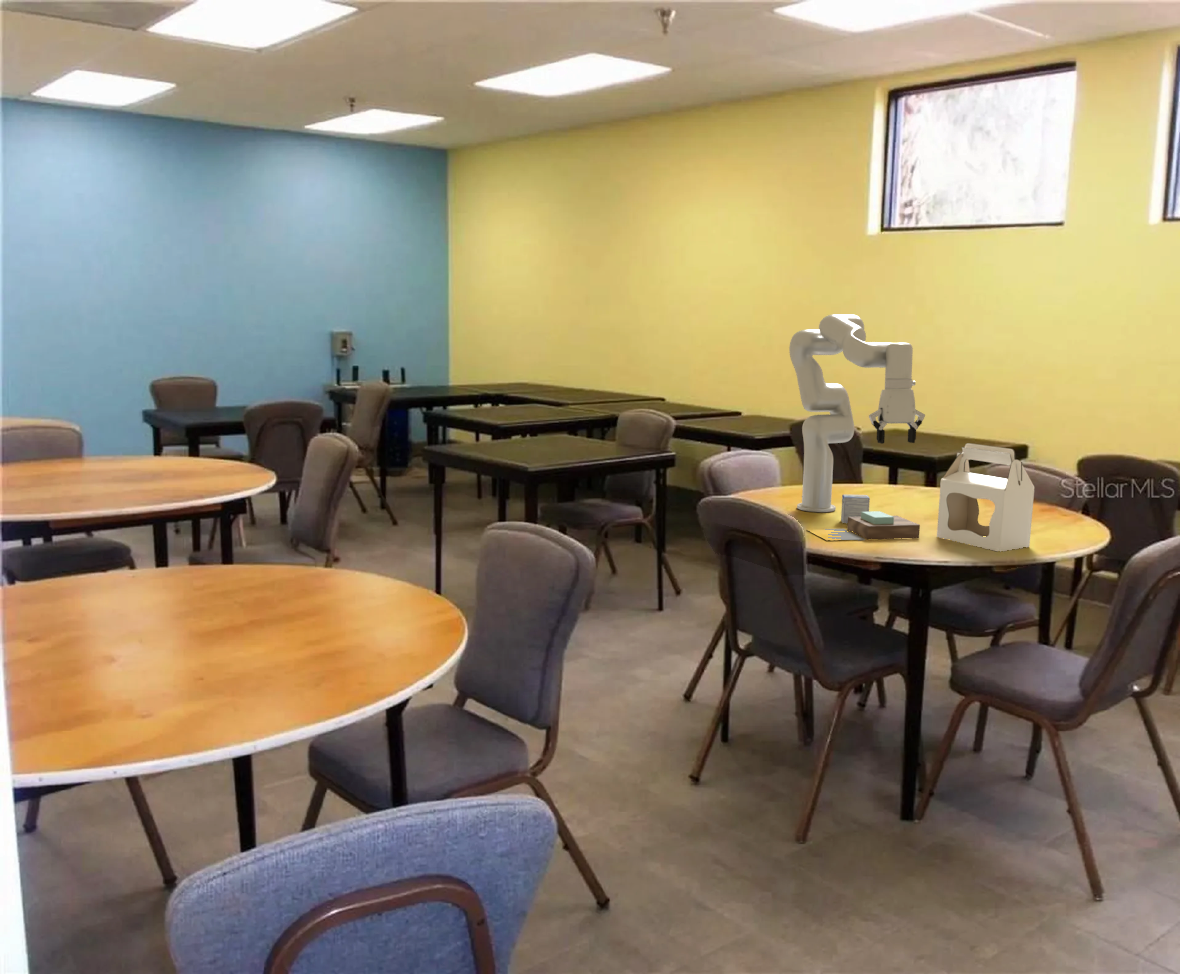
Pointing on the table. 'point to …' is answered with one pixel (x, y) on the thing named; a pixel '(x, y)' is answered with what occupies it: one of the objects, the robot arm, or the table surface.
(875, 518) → the block
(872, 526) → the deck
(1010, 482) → the gable box
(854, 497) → the medicine box
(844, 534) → the mat
